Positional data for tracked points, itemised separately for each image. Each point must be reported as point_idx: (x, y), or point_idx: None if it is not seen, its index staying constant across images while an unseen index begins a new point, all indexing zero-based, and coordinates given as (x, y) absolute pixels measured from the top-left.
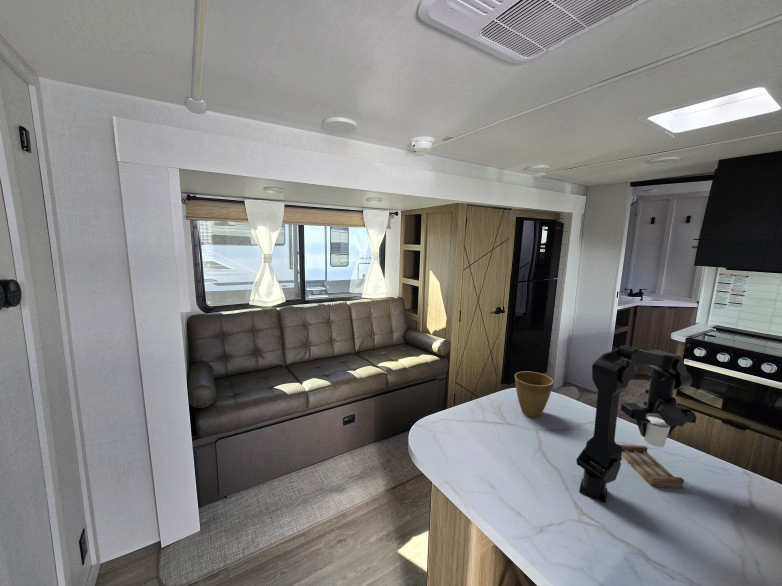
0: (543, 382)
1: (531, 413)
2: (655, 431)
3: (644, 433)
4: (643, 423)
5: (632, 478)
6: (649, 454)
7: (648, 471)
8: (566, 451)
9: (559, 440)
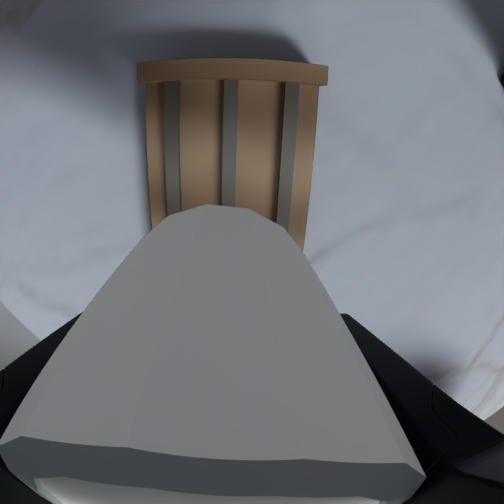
0: None
1: None
2: (334, 347)
3: (364, 339)
4: (498, 443)
5: (367, 123)
6: None
7: (267, 152)
8: (481, 282)
9: (454, 335)
